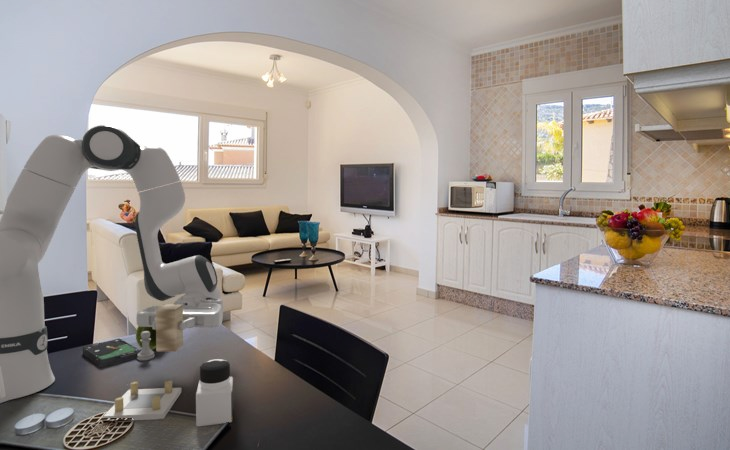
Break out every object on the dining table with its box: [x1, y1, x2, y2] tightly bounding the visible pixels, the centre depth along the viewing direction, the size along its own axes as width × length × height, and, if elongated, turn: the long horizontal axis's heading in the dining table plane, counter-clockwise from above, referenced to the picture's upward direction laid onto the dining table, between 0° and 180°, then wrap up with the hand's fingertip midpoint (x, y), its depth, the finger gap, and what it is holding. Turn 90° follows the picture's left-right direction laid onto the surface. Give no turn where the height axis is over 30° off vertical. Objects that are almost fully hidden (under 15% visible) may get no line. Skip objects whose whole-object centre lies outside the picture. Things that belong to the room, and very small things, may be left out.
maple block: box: [155, 303, 184, 352], centre depth 99 cm, size 4×4×10 cm
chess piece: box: [136, 331, 156, 362], centre depth 120 cm, size 5×5×8 cm
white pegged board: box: [102, 380, 182, 421], centre depth 93 cm, size 12×12×4 cm
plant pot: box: [135, 325, 156, 351], centre depth 131 cm, size 9×9×9 cm
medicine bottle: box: [195, 358, 234, 428], centre depth 89 cm, size 7×7×12 cm
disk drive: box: [82, 338, 140, 368], centre depth 122 cm, size 10×3×15 cm
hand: (168, 326), depth 98 cm, fingers closed on maple block, 4 cm apart
